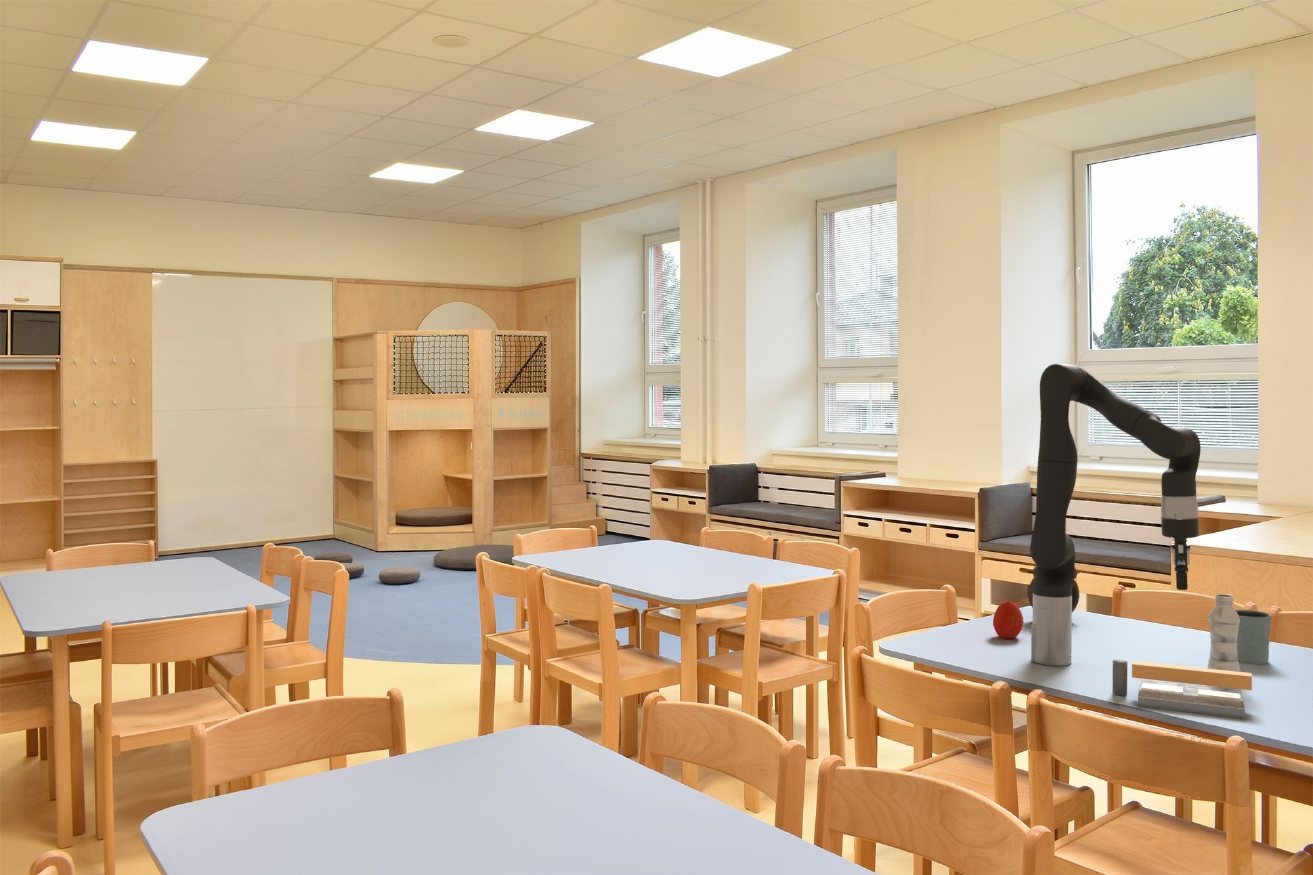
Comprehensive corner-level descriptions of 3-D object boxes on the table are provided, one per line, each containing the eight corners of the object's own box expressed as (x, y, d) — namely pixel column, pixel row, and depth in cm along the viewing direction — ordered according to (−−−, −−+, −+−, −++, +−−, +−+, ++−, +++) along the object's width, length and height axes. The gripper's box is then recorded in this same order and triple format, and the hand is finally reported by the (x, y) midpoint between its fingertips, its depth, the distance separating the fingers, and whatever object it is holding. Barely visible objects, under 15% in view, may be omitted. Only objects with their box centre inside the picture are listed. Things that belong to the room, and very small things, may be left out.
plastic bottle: (1244, 684, 235) (1245, 598, 235) (1212, 682, 237) (1213, 597, 236) (1234, 676, 242) (1235, 593, 241) (1203, 675, 243) (1204, 592, 242)
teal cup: (1259, 667, 251) (1260, 618, 250) (1217, 659, 259) (1217, 612, 258) (1278, 660, 257) (1278, 613, 256) (1236, 653, 265) (1236, 607, 264)
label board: (1137, 706, 219) (1138, 695, 219) (1140, 687, 233) (1141, 677, 233) (1244, 719, 210) (1245, 707, 209) (1241, 698, 224) (1241, 688, 224)
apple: (1028, 641, 280) (1028, 602, 279) (998, 641, 280) (998, 602, 279) (1018, 634, 288) (1018, 596, 287) (988, 634, 288) (989, 596, 288)
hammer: (1112, 693, 227) (1112, 662, 227) (1112, 690, 230) (1113, 659, 230) (1251, 710, 215) (1251, 676, 214) (1250, 706, 217) (1251, 673, 217)
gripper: (1161, 512, 239) (1163, 581, 239) (1160, 518, 226) (1163, 591, 226) (1197, 513, 236) (1199, 582, 236) (1198, 518, 223) (1201, 592, 223)
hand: (1181, 586), depth 231 cm, fingers open, 8 cm apart
